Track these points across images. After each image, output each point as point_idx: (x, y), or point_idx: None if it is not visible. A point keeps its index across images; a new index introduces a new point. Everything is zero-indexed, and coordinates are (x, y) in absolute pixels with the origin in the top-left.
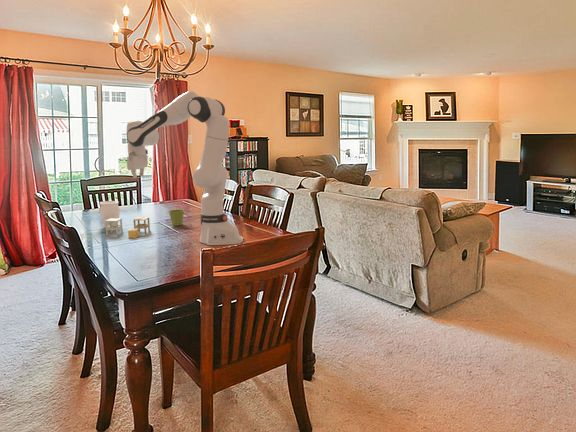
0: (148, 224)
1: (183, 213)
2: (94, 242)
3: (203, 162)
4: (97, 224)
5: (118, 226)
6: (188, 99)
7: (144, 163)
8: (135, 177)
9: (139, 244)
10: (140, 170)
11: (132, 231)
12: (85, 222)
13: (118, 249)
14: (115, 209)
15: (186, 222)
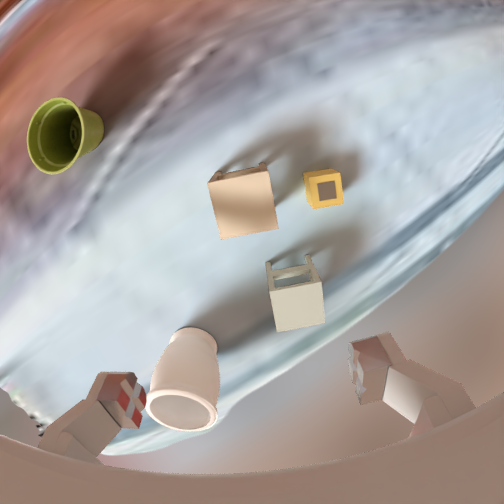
0: (225, 174)
1: (54, 104)
2: (402, 267)
3: None
4: None
5: (294, 275)
6: None
7: (14, 501)
8: (389, 339)
9: (412, 109)
10: (95, 449)
11: (340, 184)
12: None
13: (462, 151)
14: (189, 370)
15: None
